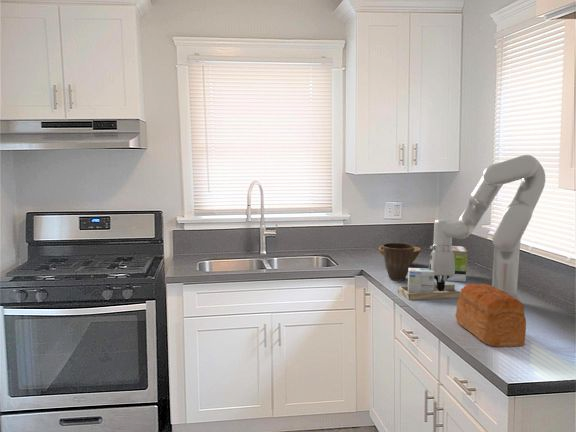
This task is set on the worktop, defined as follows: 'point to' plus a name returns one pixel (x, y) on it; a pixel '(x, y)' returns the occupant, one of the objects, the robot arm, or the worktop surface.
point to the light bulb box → (420, 280)
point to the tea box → (459, 264)
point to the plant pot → (397, 259)
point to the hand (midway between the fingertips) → (440, 290)
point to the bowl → (415, 254)
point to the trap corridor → (447, 293)
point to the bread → (491, 315)
